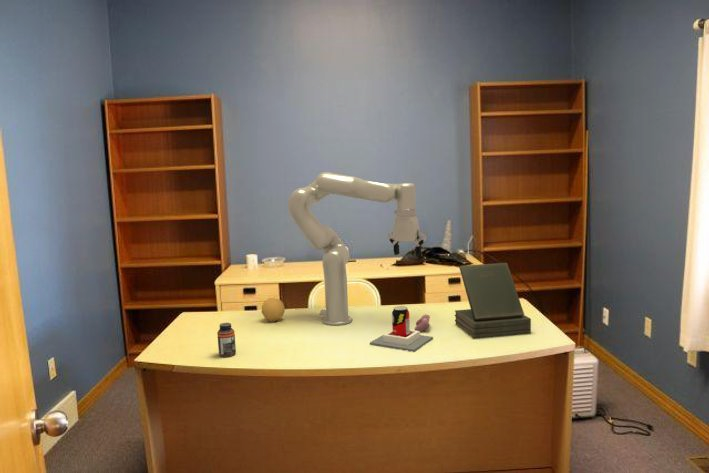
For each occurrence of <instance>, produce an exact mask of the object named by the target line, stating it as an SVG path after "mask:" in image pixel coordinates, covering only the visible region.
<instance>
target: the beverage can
mask: <svg viewBox="0 0 709 473" xmlns="http://www.w3.org/2000/svg"><path fill="white" fill-rule="evenodd" d="M391 322H392V325H391V326H392V327H391V328H392V329H391V330H393V335H394V336H400V337H408V336H409V335H410V330H411V329H410V326H411V325H410V311H409V310H408V306H405V305H404V306H403V305H398V306H394V307H393V309H392V311H391Z"/></svg>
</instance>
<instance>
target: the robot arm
mask: <svg viewBox="0 0 709 473" xmlns="http://www.w3.org/2000/svg"><path fill="white" fill-rule="evenodd" d="M315 178H316V179H315V180H314V181H313V182H311V183H310V184H308V185H307V186H305V187H300V188H296V189H295V190H294V191H293V192H292V193H291V194H290V197H289V200H288V202H287V204H288V205H287V209H288V210H287V211H288V214H289V216H290V218H291V219H292V221H293V222H294V224H295V225H296V227H297V228H298V229H299V231H300V232H301V233H302V235H303V237H305V239H306V240H307V242H308V243H309V244H310V245H311V247H312V248H314V249H315V250H316V251H317V250H321V251H322V253H323V257H322V262H321V263H322V270H323V280H324V292H325V293H324V295H325V296H324V298H325V299H324V300H325V309H320V311H319V313H318V314H319V315H320V316H323V318H322V323H323V324H324V325H328V326H343V325H347V324H350V323H351V322H353V317H352V316H350V315H349V303H348V302H349V301H348V300H349V299H348V298H349V296H348V280H347V278H348V276H347V275H348V274H347V266H346V265H347V264H348V262H349V260H350V252H349V249H348V248H347V247H346V245H345V244H344V242H342V240H341V239H340V237H339V236H338V235H337V233H336V232H335V231H334V230H333V229H332V228H331V227H329V226H328V225H322V224H321V222H320V221H319V220H318V218H317V217H316V216H315V214H314V213H313V212H312V211H311V210H310V208H309V207H313V206H314V205H316V204H317V203H319V202H320V201H321V200H323V199H325V198H327V197H328V196H329V195H337V196H341V197H342V196H343V197H348V198H352V199H353V198H354V199H359V200H360V199H361V200H366V201H372V202H376V203H377V202H378V203H386V204H387V203H390V202H392V201H393V202H394V201H396V210H394V212H393V213H394V215H396V216H395V217H394V220H393V221H394V223H393V231H392V232H391V231H390V233H388V234H387V238H388V239H389V241H390V243H391V245H392V246H393V253H394V254H393V255H394V256H397V255H399V254H400V244H399V243H400V242H402V243H413V244H414V245H415V257H420V256H421V254H422V246H423V244H424V243H425V242H426V240H427V236H428V235H426V234H425V233H423V232H421V231H420V226H419V220H418V216H416V186H415V184H414V183H411V182H405V183H403V182H402V183H391V182H389V183H382V182H376V181H371V180H370V181H369V180H367V179H366V180H365V179H363V178H360V177H356V176H352V175H345V174H339V173H333V172H329V171H324V172H321V173H319V174H318V175H317V176H316V177H315ZM420 238H421V239H420Z"/></svg>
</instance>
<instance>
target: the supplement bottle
mask: <svg viewBox="0 0 709 473" xmlns="http://www.w3.org/2000/svg"><path fill="white" fill-rule="evenodd" d="M216 334H217V345H218V355H219V356H220V357H221V358H231V357H233V356H235V355H236V354H237V350H236V347H237V346H236V334H235V330H234V328H232V323H231V322H221V323H220V324H219V330H217V333H216Z"/></svg>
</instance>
